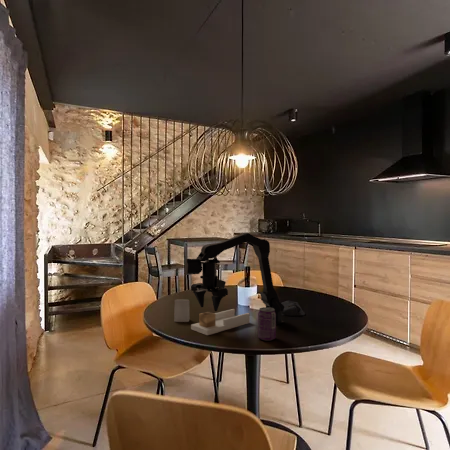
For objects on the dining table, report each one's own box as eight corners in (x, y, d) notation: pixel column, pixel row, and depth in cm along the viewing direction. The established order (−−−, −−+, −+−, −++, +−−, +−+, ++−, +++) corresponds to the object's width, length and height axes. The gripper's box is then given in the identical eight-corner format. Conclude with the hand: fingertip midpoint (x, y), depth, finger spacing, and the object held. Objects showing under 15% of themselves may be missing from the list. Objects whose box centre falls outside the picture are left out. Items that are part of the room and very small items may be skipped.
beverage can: (274, 335, 142) (274, 306, 142) (277, 341, 135) (277, 311, 134) (257, 335, 141) (257, 307, 141) (259, 341, 134) (259, 311, 134)
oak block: (215, 325, 149) (215, 313, 149) (206, 327, 146) (206, 316, 146) (208, 322, 153) (208, 311, 153) (199, 325, 149) (199, 313, 149)
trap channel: (249, 322, 160) (249, 313, 160) (207, 335, 142) (207, 324, 142) (233, 318, 168) (233, 308, 168) (190, 329, 150) (190, 319, 150)
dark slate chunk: (301, 306, 193) (301, 298, 193) (305, 317, 171) (305, 307, 171) (274, 305, 195) (274, 297, 195) (274, 316, 173) (274, 306, 173)
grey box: (188, 321, 161) (188, 300, 161) (174, 321, 161) (174, 300, 161) (189, 319, 165) (189, 298, 165) (175, 319, 165) (175, 298, 165)
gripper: (237, 273, 148) (237, 309, 148) (208, 269, 162) (209, 302, 162) (217, 276, 141) (218, 314, 141) (190, 271, 154) (190, 306, 154)
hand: (208, 309), depth 150 cm, fingers open, 9 cm apart
